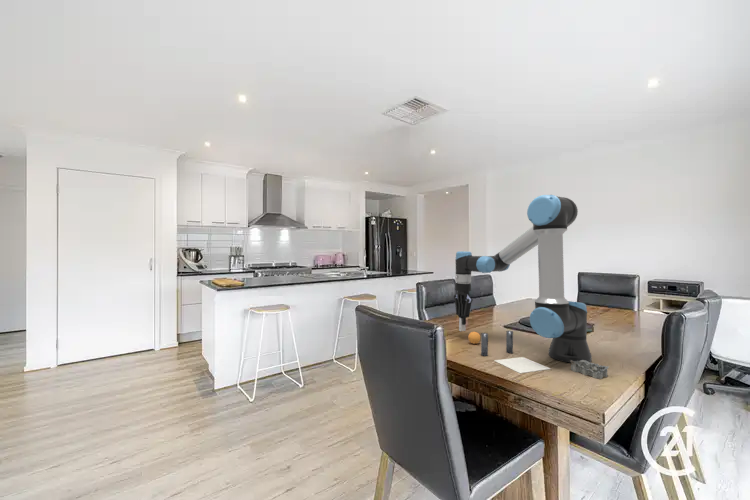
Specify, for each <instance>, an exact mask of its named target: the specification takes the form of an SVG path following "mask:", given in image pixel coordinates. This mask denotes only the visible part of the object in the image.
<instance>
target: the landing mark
mask: <svg viewBox="0 0 750 500" xmlns="http://www.w3.org/2000/svg"><path fill="white" fill-rule="evenodd" d="M493 362H495V363H498V364H499V365H501V366H504V367H505V368H508V369H510V370H512V371H514V372H516V373H518V374H527V373H533V372H534V373H535V372H541V371H547V370H552V368H550V367H548V366H546V365H543V364H541V363H538V362H536V361H533V360H531V359H529V358H526V357H525V356H520V357H519V356H518V357H513V358H503V359H495V360H493Z"/></svg>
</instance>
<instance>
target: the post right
mask: <svg viewBox="0 0 750 500" xmlns="http://www.w3.org/2000/svg"><path fill="white" fill-rule="evenodd" d="M505 335H506V336H505V338H506V343H505V350H506V351H505V352H506V354H513V353H514V331H513V330H506V334H505Z"/></svg>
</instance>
